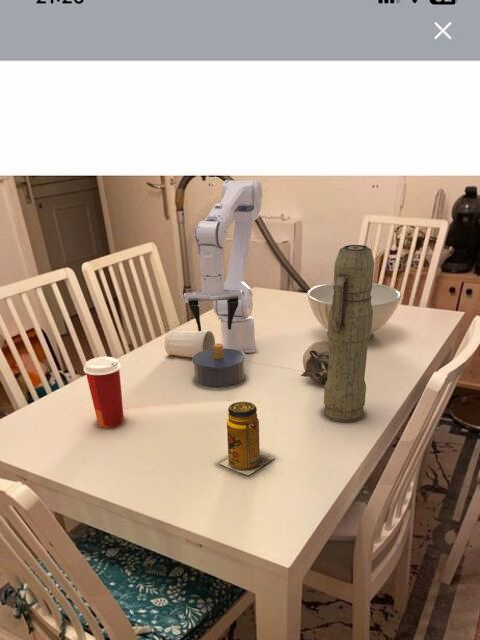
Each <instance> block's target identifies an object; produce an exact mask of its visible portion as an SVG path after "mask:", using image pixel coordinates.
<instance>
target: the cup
mask: <svg viewBox="0 0 480 640" xmlns="http://www.w3.org/2000/svg"><path fill="white" fill-rule="evenodd" d="M214 344H216V338H215V335H214V333H213V332H212V331H211V330H201V331H198V330H197V331H195V330H194V331H169V332H167V333H166V334H165V338H164V350H165V352H166V354H167V355H168V356H174V357H175V356H176V357H181V358H188V359H192V358H193V356H194V355H195V354H197V353H199V352H202V351H205V350H210V349H214V347H213V345H214Z"/></svg>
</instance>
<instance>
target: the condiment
mask: <svg viewBox="0 0 480 640" xmlns="http://www.w3.org/2000/svg"><path fill="white" fill-rule="evenodd" d="M227 411H228V414H227V417H228V418H227V420H226V435H227V438H226V439H227V455H228V457H227V459H225V460H223V461H222V462H220V463H218V464H219V465H221V466H223V467H226V468H228V469H230V470H232V471H235V472H237V473H240V474H243V475H246V476H250V475H252V474H253V473H255V472H256V471H258V470H260V469H261V468H262V467H264V466H265V465H266V464H268V463H270V462H272V460H273V459H275V458H276V456H273V455H269V454H266V453H263V452H261V449H260V420H259V418H258V413H257V411H258V409H257V406H256V405H255V403H252V402H249V401H236V402H233V403H231V404H230V405H229V406H228V408H227Z"/></svg>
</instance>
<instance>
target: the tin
mask: <svg viewBox="0 0 480 640" xmlns="http://www.w3.org/2000/svg"><path fill="white" fill-rule="evenodd" d="M193 365H194V366H193V367H194V368H193V369H194V381H195V382H196V383H197V385H200V386H202V387H206V388H213V389H223V388H229V387H234V386H236V385H239V384H241V383H242V382H243V381H244V379H245V361H244V362H243V363H242V364H240V365H238V366H235V367H232V368H226V369H207V368H202V367H199V366H197V365H195V364H194V363H193Z"/></svg>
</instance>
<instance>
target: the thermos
mask: <svg viewBox="0 0 480 640" xmlns="http://www.w3.org/2000/svg"><path fill="white" fill-rule="evenodd" d="M372 250H373V249H372V248H371V247H369V246H367V245H363V244H348V245H343V247H341V248H339V250H338V253H337V255H336V259H335V262H334V267H333V268H334V269H333V283H334V284H333V289H334V295H333V301H332V304H331V307H330V310H329V319H328V330H327V338H328V340H330V344H329V362H328V379H327V382H325V384H324V390H323V405H324V410H323V415H324V417H326V419H328V420H330V421H334V422H337V423H352V422H357V421H359V420H361V419H362V418H363V417H364V407H365V404H366V396H367V395H366V394H367V383H366V381H365V377H366V368H367V367H366V366H367V357H368V356H367V355H368V346H369V345H368V344H369V341H370V339H371V337H372V335H371V328H372V317H373V309H372V304H371V290H372V284H373V283H374V270H375V260H374V259H375V258H374V255H373V251H372Z"/></svg>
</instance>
